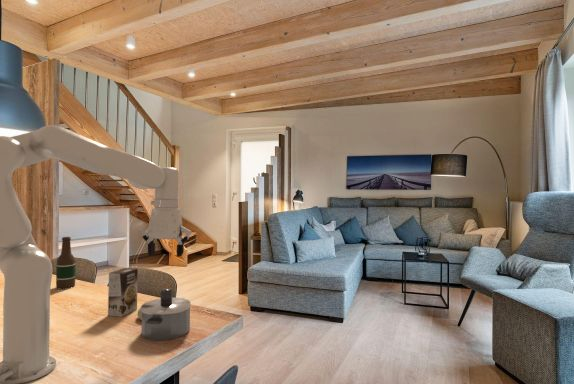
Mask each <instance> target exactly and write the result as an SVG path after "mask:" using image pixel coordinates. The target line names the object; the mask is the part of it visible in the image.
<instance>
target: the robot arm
mask: <svg viewBox="0 0 574 384" xmlns="http://www.w3.org/2000/svg"><path fill="white" fill-rule="evenodd" d="M50 159H54V160H55V159H56V160H59V161H61V162H64V163H67V164H70V165H73V166H75V167H76V168H80V169H83V170H86V171H89V172H91V173H94V174H98V175H105V176H113V177H117V178H122V179H125V180H127V181H128V184H130V185H131V186H132V187H133V188H135V189H139V190H148V189H149V190H154V199H153V200H150V205H152V206H153V207H154V208H151V212H150V216H149V223H148V226H146V227H144V228H142V229H141V230H140V233H141V236H142V239H143V240H144V241H145V242H146V244H147V253H148V256H149V257H152V256H153V255H155V254H156V243H155V241H156V240H175V242H177V245H176V257H178V258H179V257H182V256H183V254H184V248H185V244H186V242H187V241H188V240H189V239H190V237H191V236H192V232H193V231H192V230H191V229H188V228H186V227H185V226H183V217H182V211H181V208H179V198H180V197H179V194H180V193H179V191H180V189H179V186H180V185H179V184H180V172H179V169H178V168H176V167H169V166H168V167H163V166H162V167H161V166H159V165H158V164H156V163H154V162H153V161H150V160H147V159H145V158H142V157H140V156H138V155H134V154H131V153H128V152H126V151H123V150H121V149H120V150H119V149H117V148H114V147H110V146H107V145H104V144H103V143H99V142H97V141H95V140H93V139H90V138H88V137H86V136H84V135H81V134H79V133H77V132H74V131H72V130H69V129H67V128H65V127H62V126H59V125H54V124H49V125H45V126H42V127H39V129H37V130H33V131H30V132H25V133H22V134H18V135H14V136H13V135H12V136H4V135H1V136H0V271H1V273H2V274H3V276H4V286H3V287H4V288H3V289H4V290H3V300H2V301H3V303H2V309H3V310H2V316H3V318H2V319H3V320H2V324H3V325H2V327H3V328H2V330H3V331H2V333H3V335H2V361H0V384H24V383H29V382H32V381H35V380H37V379H39V378H42V377H44V376H46V375H48V374H49V373H51V372H52V371H53V370H54V369H55V368H56V365H57V360H56V358H55V357H53V356H50V332H51V329H50V327H51V325H50V323H51V322H50V319H51V318H50V316H51V310H50V309H51V308H50V307H51V285H52V277H53V264H52V260H51V259H50V257H49V255H48V254H47V253H46V252H44V251H43V250H41V249H40V248H39V247H38V245H37V243H36V240H35V239H34V236H33V234H32V231H33V226H32V222H31V220H30V218H29V217H28V215H27V213H26V212H25V210H24V208H23V205H22V203H21V202H20V199H19V197H18V194H17V192H16V189H15V188H14V184H13V174H14V171H16V169H21V168H24V167H27V166H31V165H34V164H38V163H40V162H41V163H42V162H45V161H47V160H50ZM183 233H185V235H184V237H183Z"/></svg>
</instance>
